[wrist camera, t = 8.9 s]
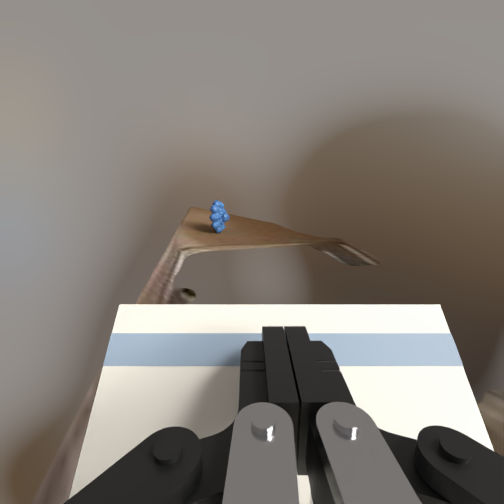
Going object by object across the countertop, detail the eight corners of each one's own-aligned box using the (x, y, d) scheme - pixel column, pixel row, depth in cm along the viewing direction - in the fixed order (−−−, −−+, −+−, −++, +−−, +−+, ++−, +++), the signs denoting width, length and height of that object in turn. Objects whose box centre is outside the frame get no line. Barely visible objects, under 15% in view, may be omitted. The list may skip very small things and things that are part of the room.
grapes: (224, 237, 105) (223, 202, 102) (206, 236, 107) (204, 201, 103) (234, 230, 116) (234, 198, 112) (218, 229, 117) (217, 197, 114)
